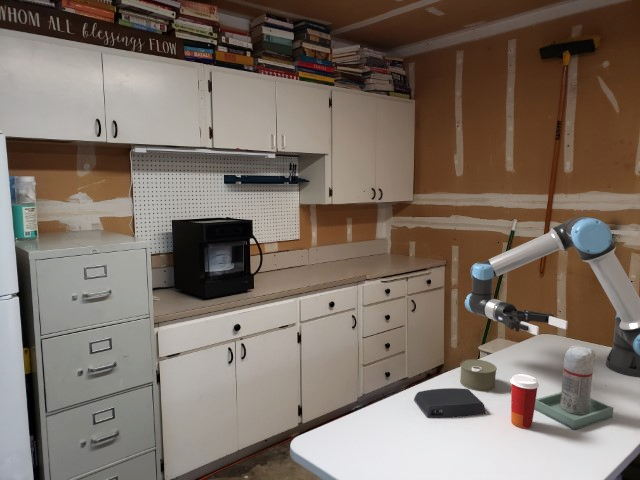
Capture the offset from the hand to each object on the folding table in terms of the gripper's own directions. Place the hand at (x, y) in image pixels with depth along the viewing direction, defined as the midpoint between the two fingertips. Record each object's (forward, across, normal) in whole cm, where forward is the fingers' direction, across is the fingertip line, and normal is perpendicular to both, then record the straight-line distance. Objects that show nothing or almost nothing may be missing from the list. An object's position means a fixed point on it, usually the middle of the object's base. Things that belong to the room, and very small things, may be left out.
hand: (552, 328), depth 152 cm
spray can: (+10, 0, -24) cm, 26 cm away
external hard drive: (-10, +34, -24) cm, 43 cm away
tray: (+10, +1, -24) cm, 26 cm away
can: (-18, +13, -24) cm, 33 cm away
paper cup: (+8, +21, -24) cm, 33 cm away
